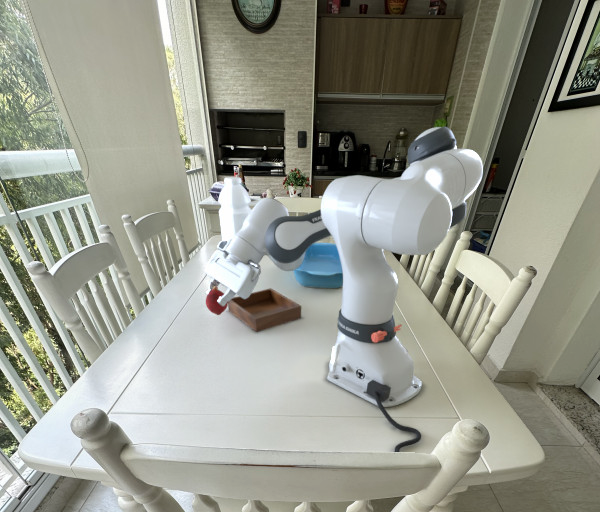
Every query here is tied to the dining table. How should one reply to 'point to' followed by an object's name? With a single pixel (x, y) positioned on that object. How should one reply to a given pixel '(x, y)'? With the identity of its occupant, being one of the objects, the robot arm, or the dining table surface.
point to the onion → (215, 301)
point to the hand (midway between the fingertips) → (214, 299)
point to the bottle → (233, 207)
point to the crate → (264, 309)
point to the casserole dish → (320, 267)
